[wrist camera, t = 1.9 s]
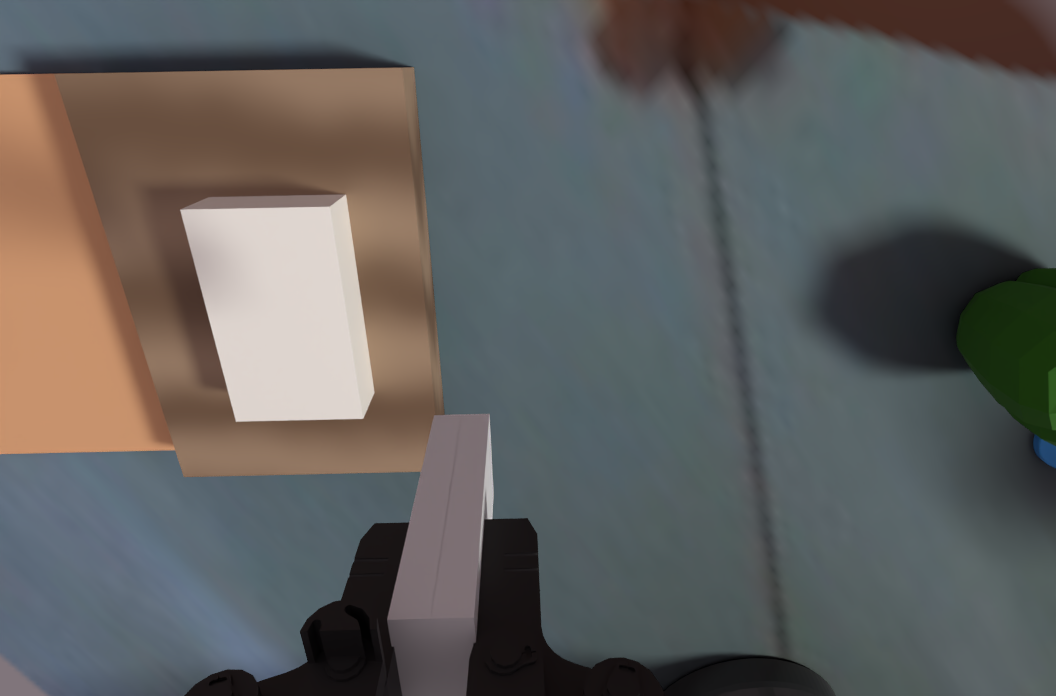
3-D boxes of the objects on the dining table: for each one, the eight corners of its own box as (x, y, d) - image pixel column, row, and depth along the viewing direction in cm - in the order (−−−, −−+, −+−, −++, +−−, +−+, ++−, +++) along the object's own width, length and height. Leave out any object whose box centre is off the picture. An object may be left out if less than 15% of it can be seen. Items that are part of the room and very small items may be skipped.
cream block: (374, 392, 31) (363, 418, 28) (256, 395, 31) (235, 421, 28) (346, 194, 26) (329, 206, 24) (209, 197, 26) (180, 209, 24)
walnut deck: (446, 440, 36) (440, 471, 33) (209, 445, 35) (183, 476, 33) (413, 67, 27) (402, 67, 24) (100, 72, 27) (53, 73, 24)
